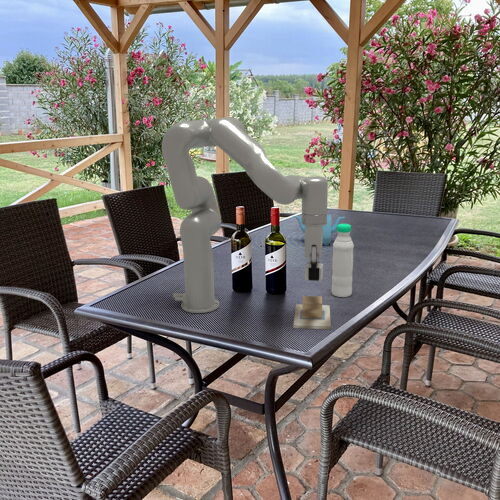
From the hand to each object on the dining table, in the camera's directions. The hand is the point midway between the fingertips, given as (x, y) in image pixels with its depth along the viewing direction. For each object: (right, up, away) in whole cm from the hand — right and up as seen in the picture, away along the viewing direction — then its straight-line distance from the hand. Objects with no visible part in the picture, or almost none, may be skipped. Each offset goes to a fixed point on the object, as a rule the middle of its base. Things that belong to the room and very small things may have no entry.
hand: (313, 276), depth 159 cm
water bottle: (+13, -8, +24) cm, 28 cm away
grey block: (0, -1, 0) cm, 1 cm away
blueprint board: (0, -13, +4) cm, 14 cm away
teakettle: (+14, +12, +93) cm, 95 cm away
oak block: (0, -12, +3) cm, 13 cm away
